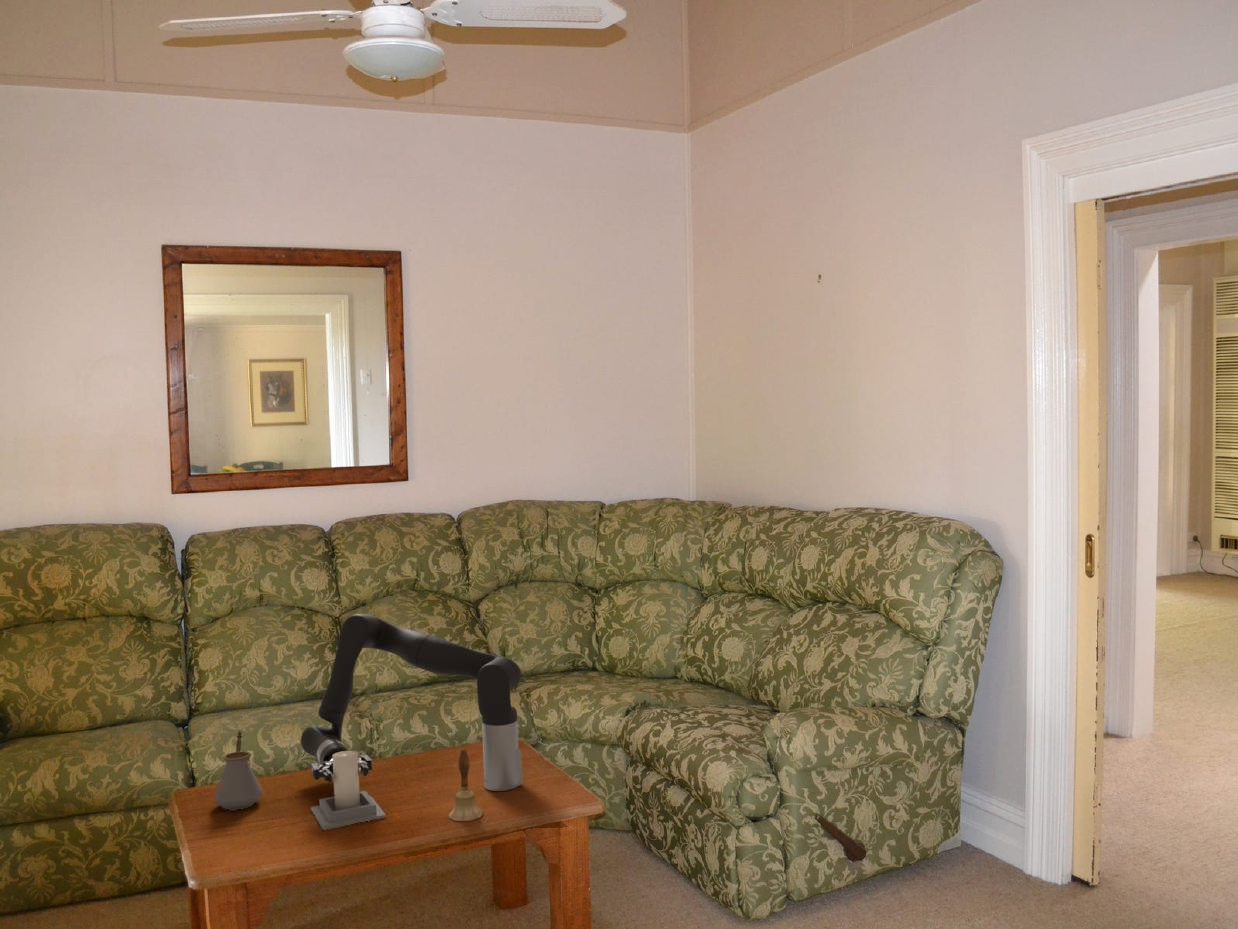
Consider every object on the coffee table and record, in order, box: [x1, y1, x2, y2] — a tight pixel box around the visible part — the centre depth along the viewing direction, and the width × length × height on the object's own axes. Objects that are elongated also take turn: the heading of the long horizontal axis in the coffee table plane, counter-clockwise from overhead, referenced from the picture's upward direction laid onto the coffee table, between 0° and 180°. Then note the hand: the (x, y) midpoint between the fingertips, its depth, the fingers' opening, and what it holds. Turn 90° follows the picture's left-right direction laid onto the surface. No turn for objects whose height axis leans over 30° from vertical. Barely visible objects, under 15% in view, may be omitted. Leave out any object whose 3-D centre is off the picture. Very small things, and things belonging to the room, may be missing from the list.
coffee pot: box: [214, 730, 263, 811], centre depth 273 cm, size 21×12×15 cm, turn 16°
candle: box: [332, 750, 360, 811], centre depth 260 cm, size 6×6×14 cm
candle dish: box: [310, 790, 387, 831], centre depth 260 cm, size 15×15×3 cm
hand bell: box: [448, 749, 484, 822], centre depth 256 cm, size 8×8×16 cm
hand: (348, 775), depth 258 cm, fingers open, 8 cm apart
